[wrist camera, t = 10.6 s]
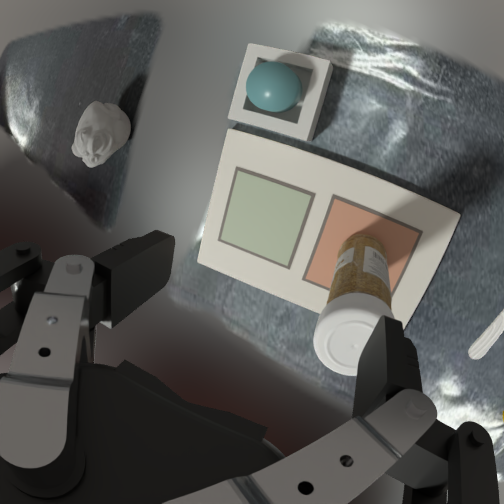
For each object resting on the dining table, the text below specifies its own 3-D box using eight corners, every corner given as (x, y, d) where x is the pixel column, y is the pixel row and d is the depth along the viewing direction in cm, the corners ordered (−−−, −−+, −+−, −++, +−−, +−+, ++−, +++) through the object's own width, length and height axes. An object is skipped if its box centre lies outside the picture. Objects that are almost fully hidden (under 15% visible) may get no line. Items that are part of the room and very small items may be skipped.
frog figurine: (108, 164, 35) (64, 173, 29) (102, 108, 33) (58, 109, 27) (147, 156, 33) (102, 164, 27) (141, 95, 31) (95, 92, 25)
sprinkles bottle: (331, 240, 28) (301, 318, 16) (380, 226, 26) (388, 299, 14) (345, 286, 29) (324, 384, 17) (392, 274, 27) (402, 371, 15)
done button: (308, 73, 23) (302, 67, 21) (294, 118, 25) (288, 116, 23) (262, 62, 24) (253, 57, 22) (249, 106, 25) (240, 103, 23)
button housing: (333, 67, 24) (330, 60, 22) (311, 141, 27) (306, 141, 25) (258, 50, 25) (248, 43, 23) (239, 119, 28) (227, 118, 26)
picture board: (458, 212, 24) (461, 215, 23) (395, 338, 30) (395, 343, 29) (231, 128, 29) (227, 128, 28) (200, 259, 35) (196, 262, 34)
